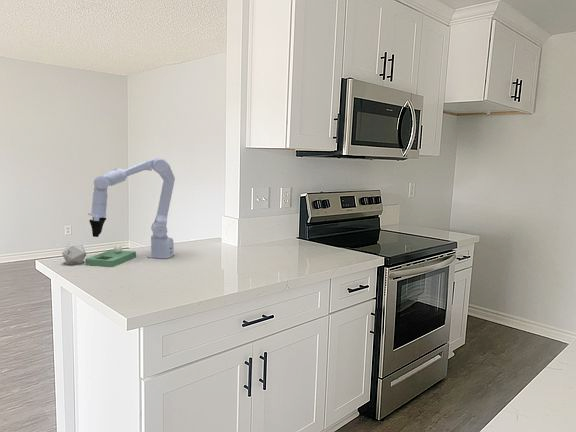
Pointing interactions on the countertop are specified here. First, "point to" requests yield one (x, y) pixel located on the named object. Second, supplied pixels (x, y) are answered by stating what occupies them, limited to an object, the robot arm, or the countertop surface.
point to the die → (74, 253)
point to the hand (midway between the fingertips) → (96, 235)
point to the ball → (118, 248)
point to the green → (110, 258)
